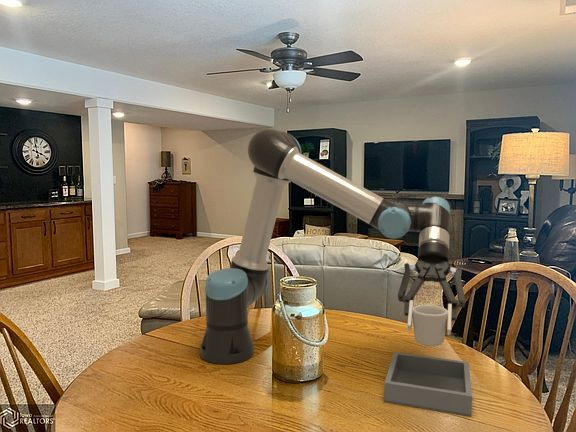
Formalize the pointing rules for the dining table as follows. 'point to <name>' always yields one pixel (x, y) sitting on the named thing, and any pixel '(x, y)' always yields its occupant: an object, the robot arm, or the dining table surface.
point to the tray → (429, 383)
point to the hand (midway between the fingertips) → (429, 329)
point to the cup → (429, 324)
